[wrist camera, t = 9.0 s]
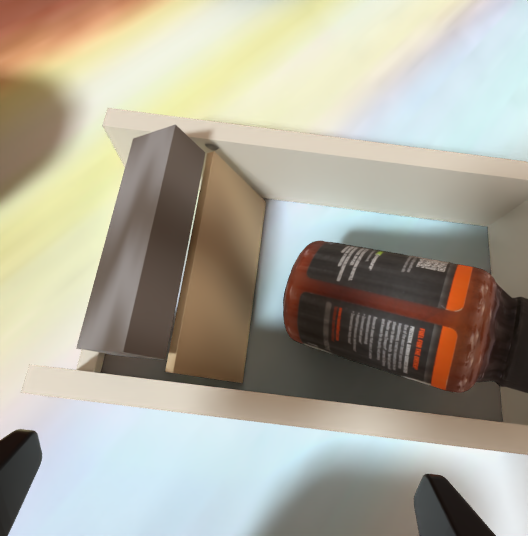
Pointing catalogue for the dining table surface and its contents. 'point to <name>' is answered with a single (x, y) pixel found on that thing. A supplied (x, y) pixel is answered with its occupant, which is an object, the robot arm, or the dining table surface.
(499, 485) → the dining table surface
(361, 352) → the supplement bottle
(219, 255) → the trapdoor
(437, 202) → the frame
